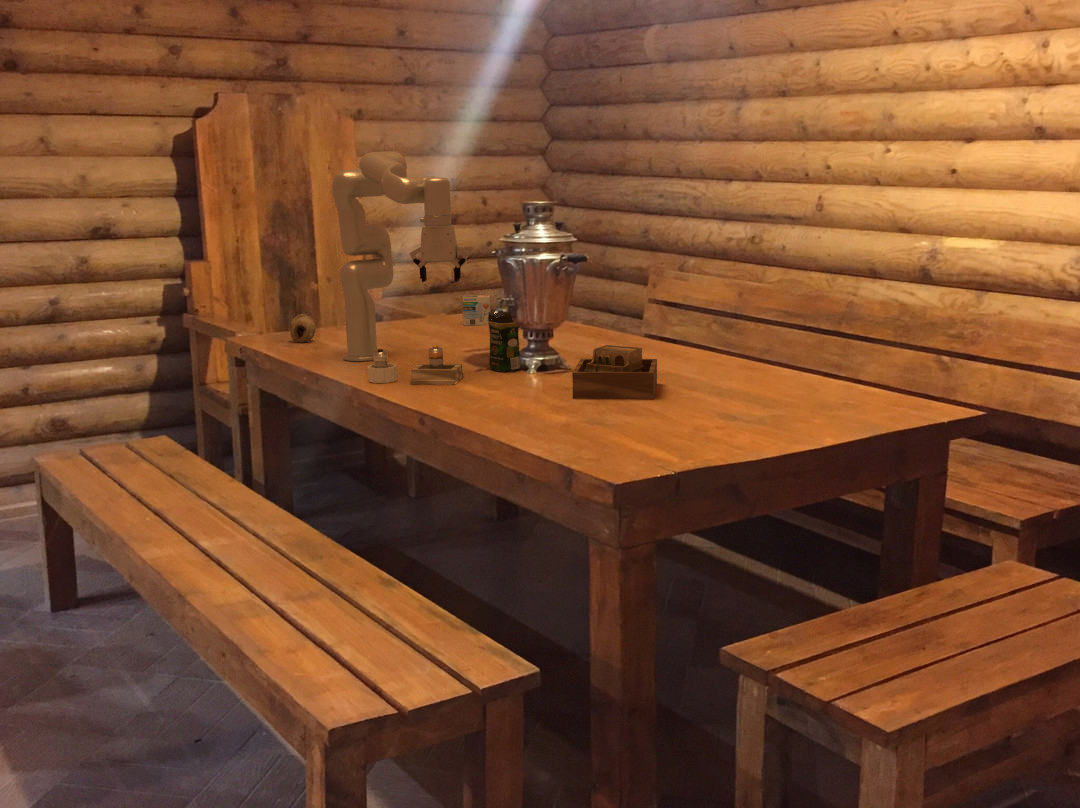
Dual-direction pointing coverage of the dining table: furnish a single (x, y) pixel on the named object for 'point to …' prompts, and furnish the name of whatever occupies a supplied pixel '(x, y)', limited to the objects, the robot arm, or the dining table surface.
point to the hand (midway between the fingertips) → (440, 281)
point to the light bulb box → (476, 309)
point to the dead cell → (380, 359)
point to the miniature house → (616, 359)
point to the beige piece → (382, 374)
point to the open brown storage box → (615, 382)
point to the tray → (436, 374)
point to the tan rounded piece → (302, 328)
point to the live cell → (436, 358)
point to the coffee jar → (503, 343)
